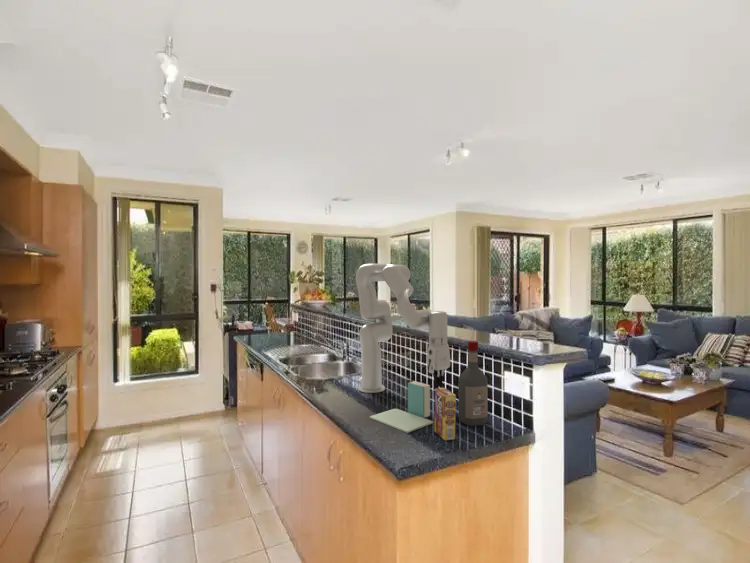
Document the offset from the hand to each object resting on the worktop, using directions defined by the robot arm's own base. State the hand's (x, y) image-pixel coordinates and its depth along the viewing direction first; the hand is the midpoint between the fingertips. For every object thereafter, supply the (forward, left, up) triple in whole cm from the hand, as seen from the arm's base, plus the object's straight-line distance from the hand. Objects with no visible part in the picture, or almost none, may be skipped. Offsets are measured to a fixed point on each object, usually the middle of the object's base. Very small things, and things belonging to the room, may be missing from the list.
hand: (438, 385), depth 170 cm
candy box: (+20, -21, -9) cm, 30 cm away
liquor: (+19, -3, -9) cm, 21 cm away
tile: (0, -12, -9) cm, 15 cm away
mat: (0, -22, -9) cm, 24 cm away
